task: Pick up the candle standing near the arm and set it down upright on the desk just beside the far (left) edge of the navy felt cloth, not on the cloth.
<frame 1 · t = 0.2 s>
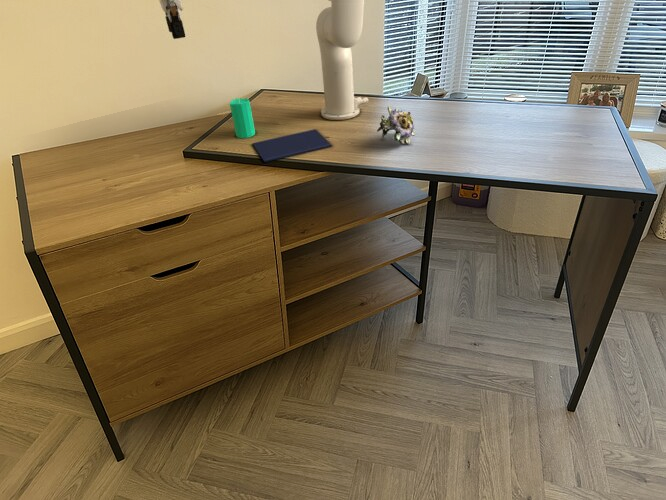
hand: (177, 34, 128), 31 cm above the table, tool pointing down, fingers open, 9 cm apart
cloth: (291, 145, 140), on the table
candle: (245, 134, 150), on the table
passion flower: (394, 141, 137), on the table
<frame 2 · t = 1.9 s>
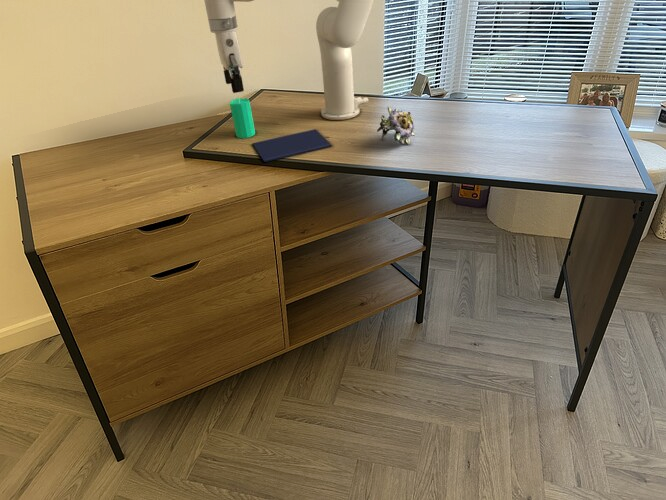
hand: (234, 87, 141), 15 cm above the table, tool pointing down, fingers open, 9 cm apart
nothing on the table moved.
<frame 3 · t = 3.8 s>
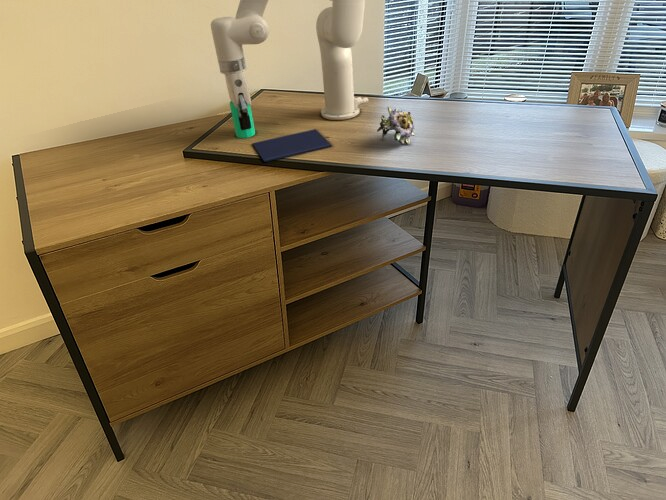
hand: (244, 125, 148), 3 cm above the table, tool pointing down, fingers closed on candle, 4 cm apart
candle: (245, 134, 150), on the table, touching gripper
everything else where it was.
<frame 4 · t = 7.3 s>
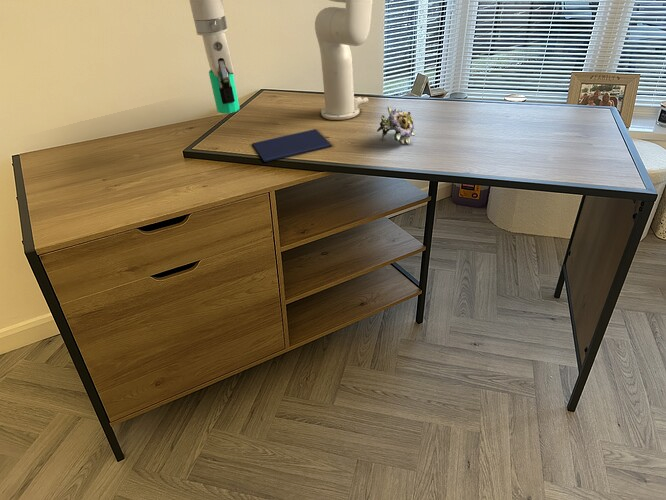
hand: (226, 98, 127), 16 cm above the table, tool pointing down, fingers closed on candle, 4 cm apart
candle: (228, 110, 129), point 13 cm above the table, touching gripper
everything else where it was.
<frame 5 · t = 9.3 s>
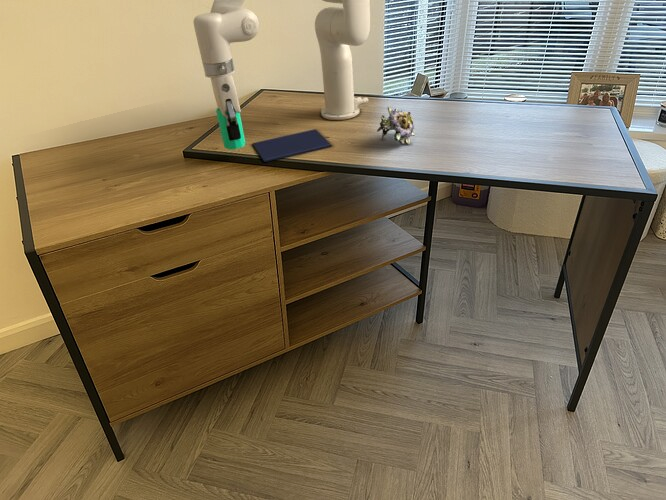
hand: (232, 135, 132), 7 cm above the table, tool pointing down, fingers closed on candle, 4 cm apart
candle: (235, 145, 134), point 4 cm above the table, touching gripper
everything else where it was.
when the fingers open (3 cm above the table, at t = 10.7 s): candle stays where it is, on the table.
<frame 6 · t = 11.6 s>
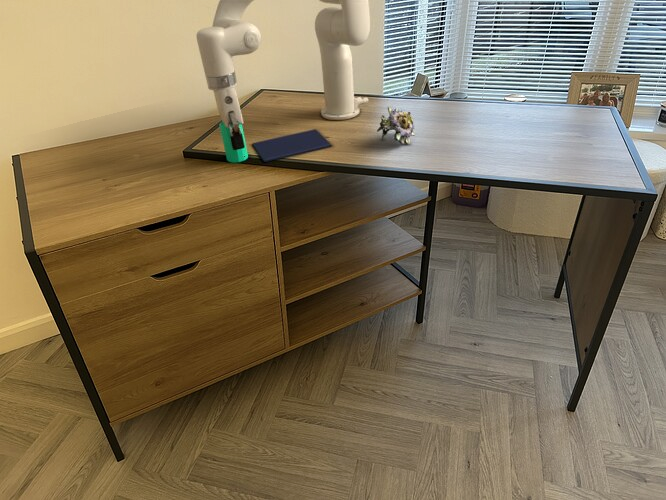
hand: (235, 142, 133), 5 cm above the table, tool pointing down, fingers open, 9 cm apart
candle: (237, 158, 136), on the table
everything else where it was.
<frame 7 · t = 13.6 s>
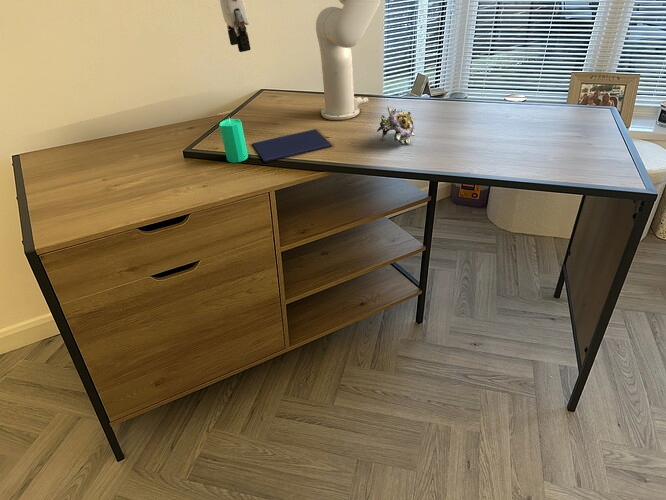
hand: (240, 47, 134), 26 cm above the table, tool pointing down, fingers open, 9 cm apart
nothing on the table moved.
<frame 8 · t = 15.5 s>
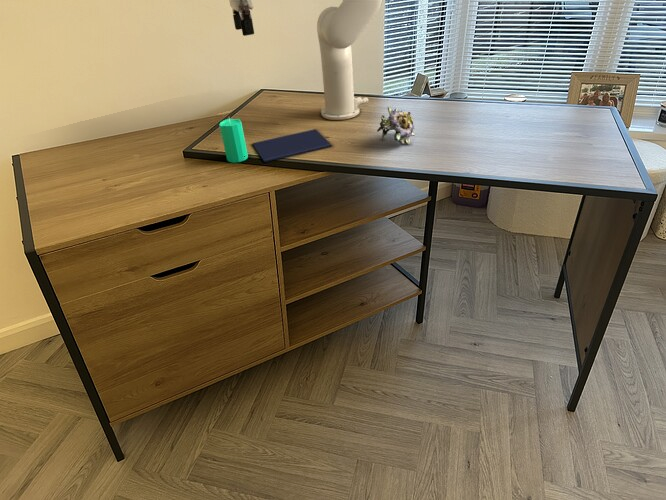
hand: (244, 31, 138), 28 cm above the table, tool pointing down, fingers open, 9 cm apart
nothing on the table moved.
at the end: candle inside the target area (0.4 cm from its centre), on the table; candle tilted 0°; candle touching table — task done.
